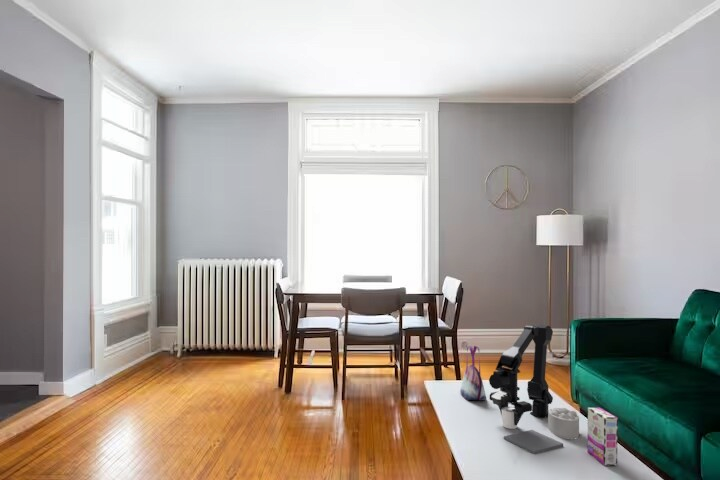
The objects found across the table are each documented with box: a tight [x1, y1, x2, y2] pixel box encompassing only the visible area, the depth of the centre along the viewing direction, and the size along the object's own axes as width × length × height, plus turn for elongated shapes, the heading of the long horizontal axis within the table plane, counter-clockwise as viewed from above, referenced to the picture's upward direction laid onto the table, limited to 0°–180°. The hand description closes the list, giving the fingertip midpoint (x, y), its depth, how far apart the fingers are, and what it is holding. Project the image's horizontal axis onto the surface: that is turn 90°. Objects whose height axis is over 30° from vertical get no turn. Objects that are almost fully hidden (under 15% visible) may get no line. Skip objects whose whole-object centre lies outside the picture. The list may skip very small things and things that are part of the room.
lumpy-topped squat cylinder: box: [547, 407, 580, 440], centre depth 193 cm, size 10×13×9 cm
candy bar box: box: [586, 406, 619, 467], centre depth 170 cm, size 11×5×16 cm, turn 4°
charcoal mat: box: [503, 429, 564, 455], centre depth 183 cm, size 15×15×1 cm
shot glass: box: [501, 406, 518, 430], centre depth 200 cm, size 7×7×7 cm
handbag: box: [459, 345, 487, 401], centre depth 238 cm, size 21×10×25 cm, turn 6°
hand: (510, 422), depth 200 cm, fingers closed on shot glass, 6 cm apart
